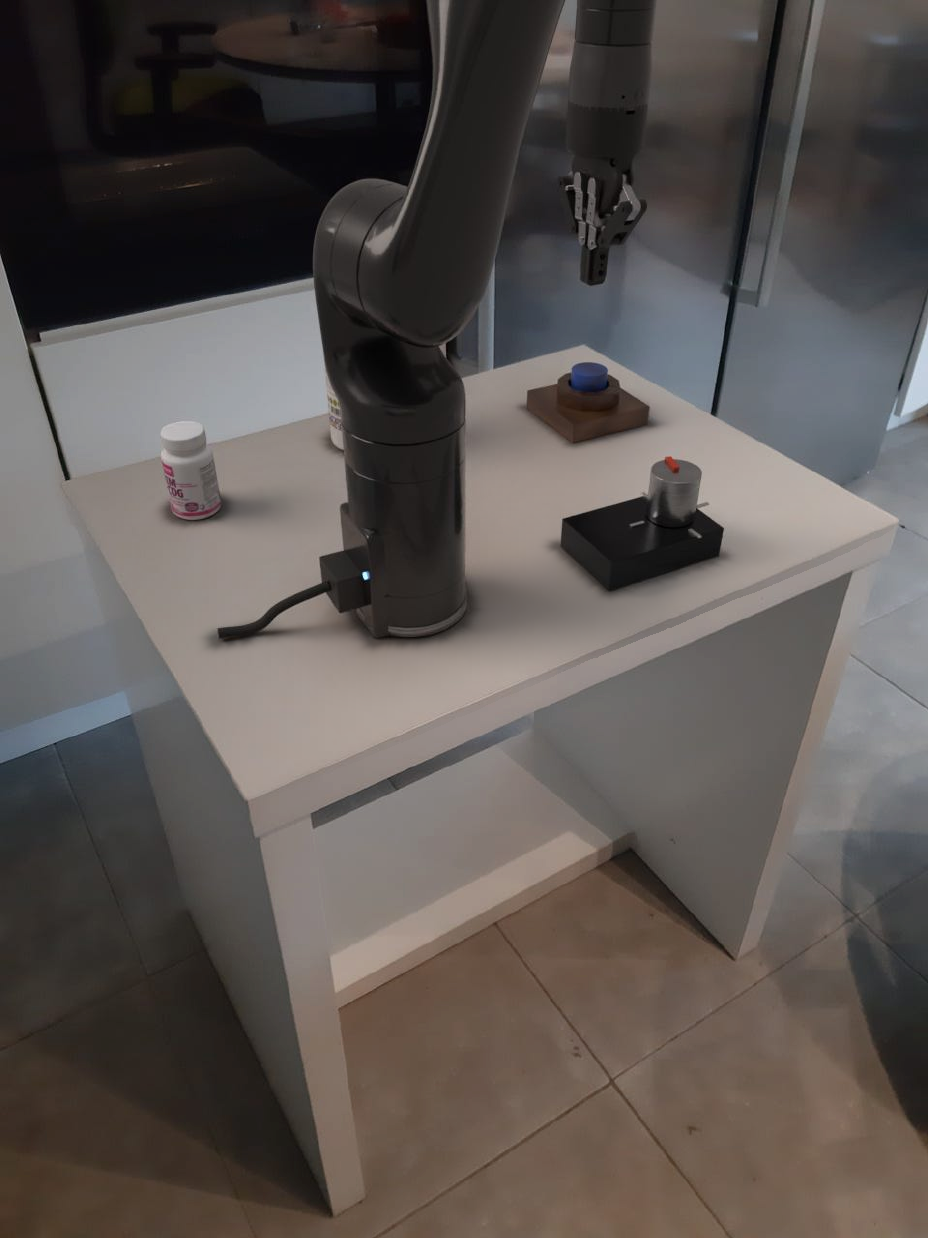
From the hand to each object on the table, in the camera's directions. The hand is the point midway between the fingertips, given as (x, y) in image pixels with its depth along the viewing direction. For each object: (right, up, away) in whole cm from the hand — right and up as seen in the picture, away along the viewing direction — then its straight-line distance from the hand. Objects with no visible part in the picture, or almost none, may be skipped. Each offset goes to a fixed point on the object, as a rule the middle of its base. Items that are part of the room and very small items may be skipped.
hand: (592, 282), depth 102 cm
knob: (+5, -26, -13) cm, 29 cm away
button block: (+1, -12, +10) cm, 15 cm away
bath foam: (-24, -16, +5) cm, 29 cm away
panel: (+3, -29, -12) cm, 32 cm away
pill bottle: (-39, -24, -6) cm, 47 cm away
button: (+1, -9, +8) cm, 12 cm away
